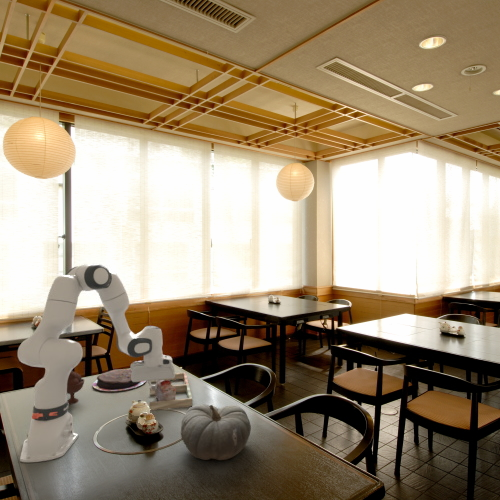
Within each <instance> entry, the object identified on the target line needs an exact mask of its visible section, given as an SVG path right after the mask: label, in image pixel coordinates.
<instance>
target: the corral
mask: <svg viewBox="0 0 500 500" xmlns="http://www.w3.org/2000/svg"><path fill="white" fill-rule="evenodd" d="M176 379H184V380H183V383H184V382H185V383H184V384H183V383H182V384H174V385H173V384H172V385H173V386H174V387H175V390H176V392H180V393H186V395H187V398H177V399H176V398H175V400H166V401H158V400H157V401H149V403H148V404H149V407H150V409H151V410H154V411H157V410H156V409H164V410H169V409H168V408H173V409H180V408H179V407H182V408H190V407H189V406H193V396H192V391H191V389H190V388H191V387H190V384H189V381H188V380H189V379H188V377H187V373H186V372H185V371H184V372H175V377H174V378H173V379H162V380H173V381H177V380H176ZM159 381H160V380H159ZM151 383H156V380H151ZM155 390H156V389H152V390H151V386H149V396H155V394H156V393H155ZM185 391H187V392H185ZM149 407H148V408H149Z"/></svg>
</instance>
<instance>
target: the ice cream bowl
mask: <svg viewBox="0 0 500 500" xmlns="http://www.w3.org/2000/svg"><path fill="white" fill-rule="evenodd" d="M84 383H85V379H83V378H82V375H81V374H80V373H78V372H75V371H74V370H72V371H71V373H70V375H69V377H68V382H67V394H68V395H70V397H69V399H67V400H68V404H69V405H73V404H77V403H78V402H79V399H78V398H76V397H75V394H76V393H78V392H79V391H81V390H82V389H83V387H84Z"/></svg>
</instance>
